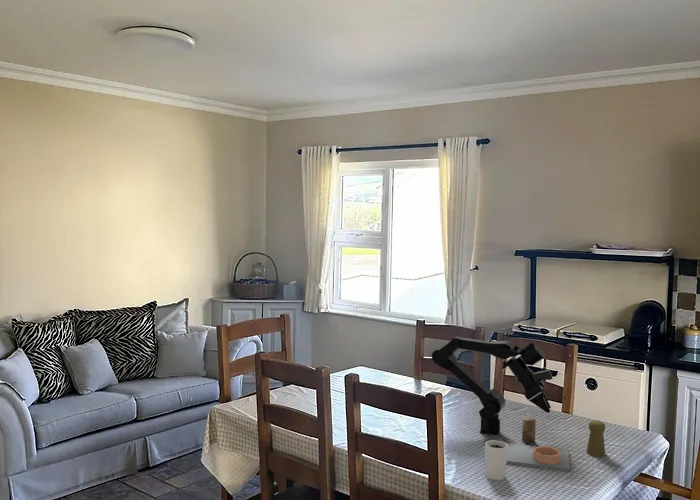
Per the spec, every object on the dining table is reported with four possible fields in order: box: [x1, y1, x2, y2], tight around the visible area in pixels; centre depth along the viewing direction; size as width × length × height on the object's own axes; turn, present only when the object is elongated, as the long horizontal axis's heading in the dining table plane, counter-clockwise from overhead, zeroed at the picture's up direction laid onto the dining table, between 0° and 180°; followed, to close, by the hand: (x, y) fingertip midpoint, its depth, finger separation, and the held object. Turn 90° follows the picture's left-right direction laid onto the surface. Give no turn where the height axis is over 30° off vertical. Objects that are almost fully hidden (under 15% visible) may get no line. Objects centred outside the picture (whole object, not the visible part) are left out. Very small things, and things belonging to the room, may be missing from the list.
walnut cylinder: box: [521, 417, 537, 445], centre depth 224 cm, size 4×4×8 cm
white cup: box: [484, 439, 508, 481], centre depth 194 cm, size 7×7×10 cm
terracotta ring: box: [533, 445, 561, 464], centre depth 206 cm, size 8×8×2 cm
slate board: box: [506, 443, 571, 473], centre depth 209 cm, size 20×16×1 cm
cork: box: [586, 419, 606, 458], centre depth 213 cm, size 6×6×11 cm
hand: (549, 410), depth 222 cm, fingers open, 9 cm apart
